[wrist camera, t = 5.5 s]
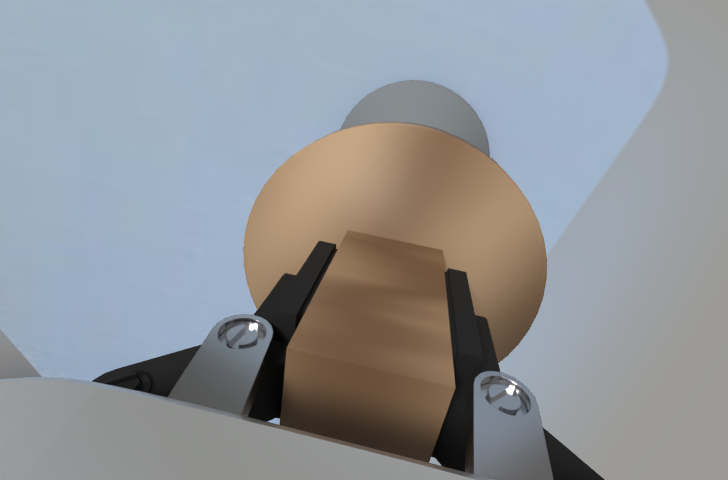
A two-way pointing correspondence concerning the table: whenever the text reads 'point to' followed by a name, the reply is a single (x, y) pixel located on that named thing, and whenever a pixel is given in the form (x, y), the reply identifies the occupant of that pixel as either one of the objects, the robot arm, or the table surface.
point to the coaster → (421, 110)
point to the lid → (391, 275)
